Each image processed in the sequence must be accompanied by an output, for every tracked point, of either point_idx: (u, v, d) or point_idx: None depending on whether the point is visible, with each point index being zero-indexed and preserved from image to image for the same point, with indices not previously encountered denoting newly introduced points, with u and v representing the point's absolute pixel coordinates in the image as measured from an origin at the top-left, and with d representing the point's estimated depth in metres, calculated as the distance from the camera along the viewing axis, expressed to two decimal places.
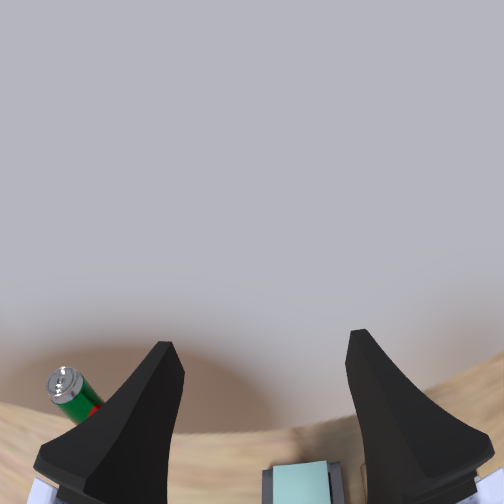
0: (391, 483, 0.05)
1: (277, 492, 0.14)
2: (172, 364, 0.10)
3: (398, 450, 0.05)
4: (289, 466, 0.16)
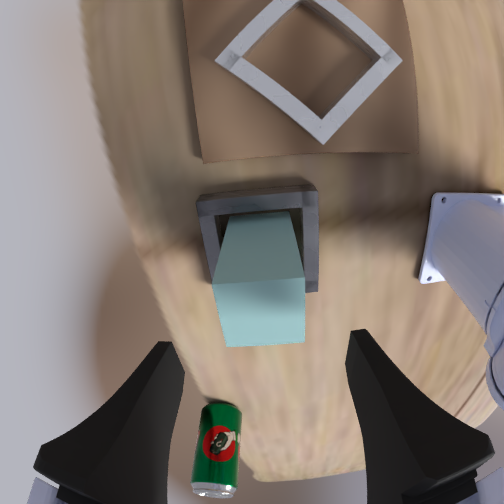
0: (391, 483, 0.05)
1: (273, 340, 0.14)
2: (172, 364, 0.10)
3: (398, 450, 0.05)
4: (225, 329, 0.13)
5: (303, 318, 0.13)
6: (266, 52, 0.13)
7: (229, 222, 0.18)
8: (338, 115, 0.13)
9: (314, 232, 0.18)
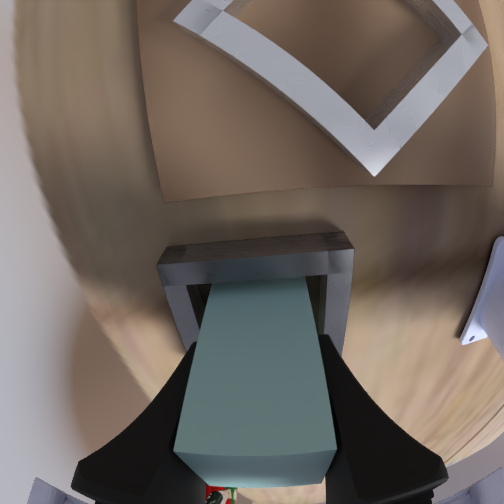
0: (338, 495, 0.05)
1: (276, 485, 0.07)
2: None
3: (342, 463, 0.05)
4: (205, 478, 0.07)
5: (324, 472, 0.06)
6: (270, 9, 0.06)
7: (211, 293, 0.12)
8: (401, 124, 0.07)
9: (342, 307, 0.11)
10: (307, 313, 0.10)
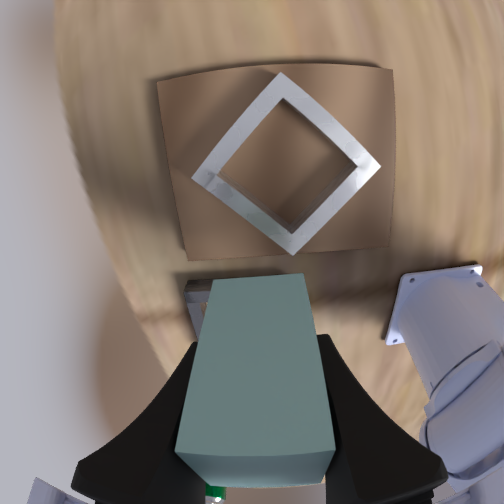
0: (338, 495, 0.05)
1: (276, 485, 0.07)
2: None
3: (342, 463, 0.05)
4: (206, 477, 0.07)
5: (323, 472, 0.06)
6: (242, 159, 0.16)
7: (211, 294, 0.12)
8: (307, 230, 0.16)
9: None
10: (307, 315, 0.10)
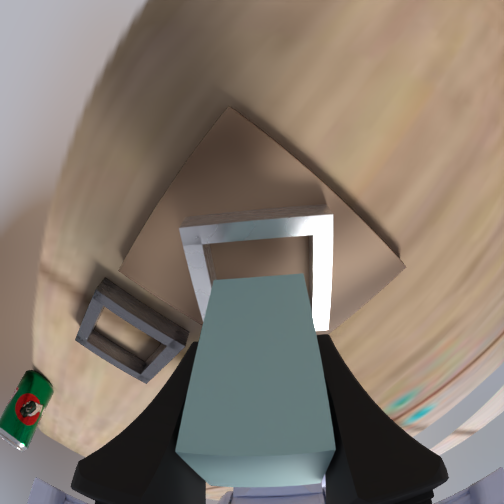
0: (338, 495, 0.05)
1: (276, 485, 0.07)
2: None
3: (342, 463, 0.05)
4: (206, 477, 0.07)
5: (323, 472, 0.06)
6: None
7: (212, 295, 0.12)
8: None
9: (165, 360, 0.20)
10: (307, 315, 0.10)
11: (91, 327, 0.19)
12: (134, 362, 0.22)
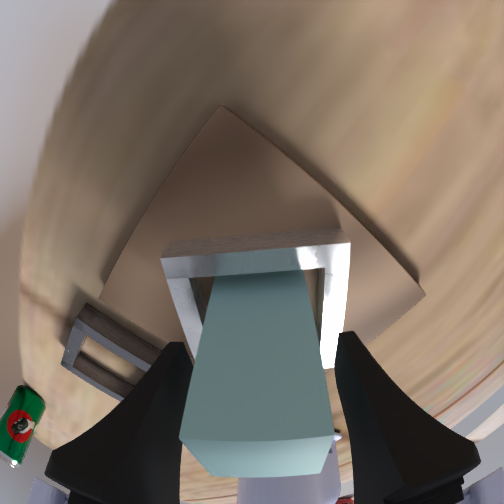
0: (374, 488, 0.05)
1: (276, 474, 0.08)
2: (184, 364, 0.10)
3: (380, 455, 0.05)
4: (208, 467, 0.07)
5: (322, 461, 0.07)
6: None
7: (214, 288, 0.12)
8: None
9: None
10: (306, 307, 0.10)
11: (75, 354, 0.16)
12: (124, 388, 0.19)
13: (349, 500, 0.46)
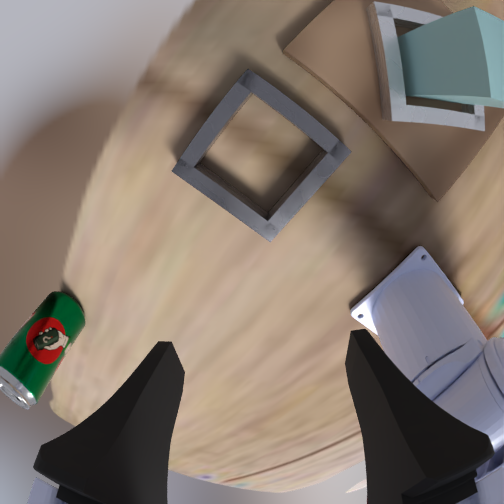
0: (391, 483, 0.05)
1: None
2: (172, 364, 0.10)
3: (398, 450, 0.05)
4: (489, 68, 0.05)
5: None
6: None
7: (405, 34, 0.10)
8: (418, 114, 0.12)
9: (317, 182, 0.16)
10: None
11: (214, 135, 0.15)
12: (256, 208, 0.18)
13: None
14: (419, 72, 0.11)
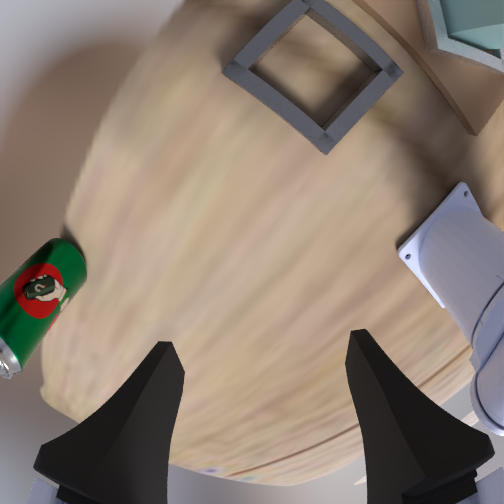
0: (391, 483, 0.05)
1: None
2: (172, 364, 0.10)
3: (398, 450, 0.05)
4: None
5: None
6: None
7: None
8: (458, 48, 0.10)
9: (374, 96, 0.13)
10: None
11: (272, 40, 0.12)
12: None
13: None
14: (457, 13, 0.08)
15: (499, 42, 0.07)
